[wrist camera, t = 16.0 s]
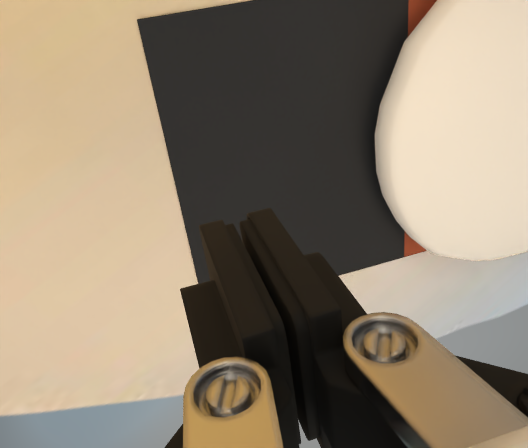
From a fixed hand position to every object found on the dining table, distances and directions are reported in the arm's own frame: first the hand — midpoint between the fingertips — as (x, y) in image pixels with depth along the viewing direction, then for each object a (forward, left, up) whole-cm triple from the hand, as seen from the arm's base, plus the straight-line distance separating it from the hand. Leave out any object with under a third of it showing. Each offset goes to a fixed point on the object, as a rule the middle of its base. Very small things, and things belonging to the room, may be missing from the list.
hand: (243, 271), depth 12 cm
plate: (+9, +30, -27) cm, 42 cm away
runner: (+10, +20, -27) cm, 35 cm away
